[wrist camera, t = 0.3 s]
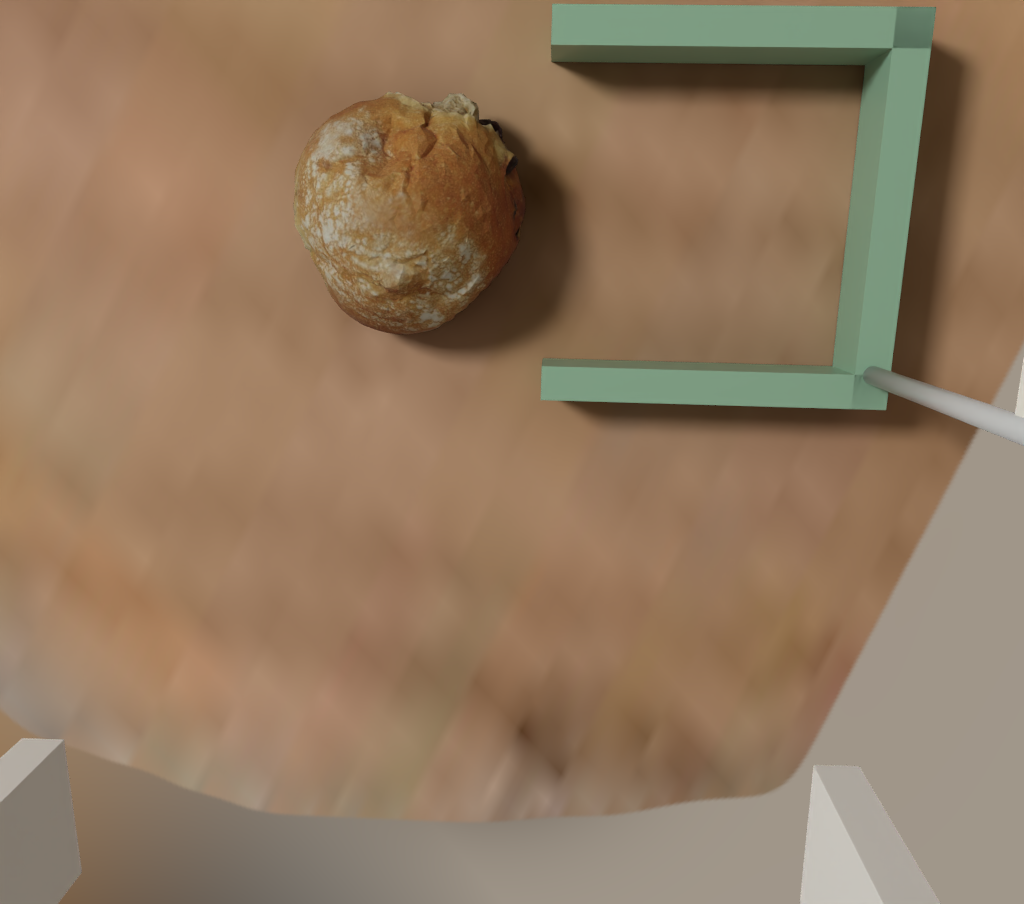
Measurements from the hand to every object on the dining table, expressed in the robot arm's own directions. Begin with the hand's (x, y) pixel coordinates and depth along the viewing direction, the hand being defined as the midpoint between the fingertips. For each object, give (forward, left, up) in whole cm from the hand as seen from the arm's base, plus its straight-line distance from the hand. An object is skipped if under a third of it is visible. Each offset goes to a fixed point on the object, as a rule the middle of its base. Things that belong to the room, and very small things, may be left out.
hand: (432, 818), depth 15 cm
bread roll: (-11, -5, -27) cm, 30 cm away
